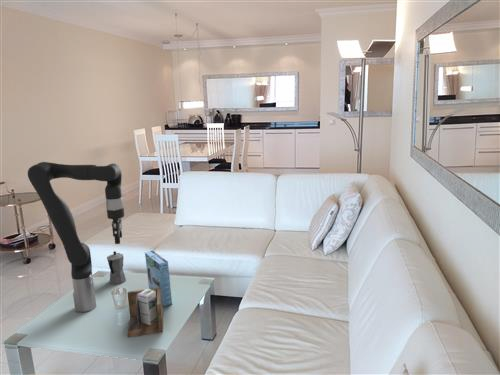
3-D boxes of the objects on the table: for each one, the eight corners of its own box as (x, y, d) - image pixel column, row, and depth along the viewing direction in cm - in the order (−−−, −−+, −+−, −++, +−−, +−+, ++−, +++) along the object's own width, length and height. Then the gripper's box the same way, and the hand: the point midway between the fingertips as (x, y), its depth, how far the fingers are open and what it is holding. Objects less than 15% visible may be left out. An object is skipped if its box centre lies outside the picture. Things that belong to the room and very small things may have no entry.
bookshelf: (127, 337, 171) (124, 308, 168) (130, 317, 187) (127, 291, 184) (162, 332, 174) (160, 304, 171) (163, 313, 190) (160, 287, 187)
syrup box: (150, 325, 177) (147, 296, 174) (140, 322, 180) (137, 293, 176) (158, 319, 182) (156, 290, 178) (149, 316, 184) (146, 287, 181)
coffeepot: (113, 276, 232) (110, 247, 228) (129, 275, 232) (126, 246, 228) (104, 288, 217) (100, 258, 213) (121, 288, 217) (118, 257, 213)
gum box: (172, 304, 198) (168, 261, 193) (162, 307, 195) (158, 264, 190) (157, 289, 214) (153, 250, 209) (148, 292, 211) (144, 252, 206)
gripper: (108, 204, 188) (112, 236, 192) (104, 212, 175) (108, 246, 178) (124, 202, 190) (128, 234, 193) (121, 210, 176) (125, 244, 180)
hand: (118, 240), depth 186 cm, fingers open, 8 cm apart
